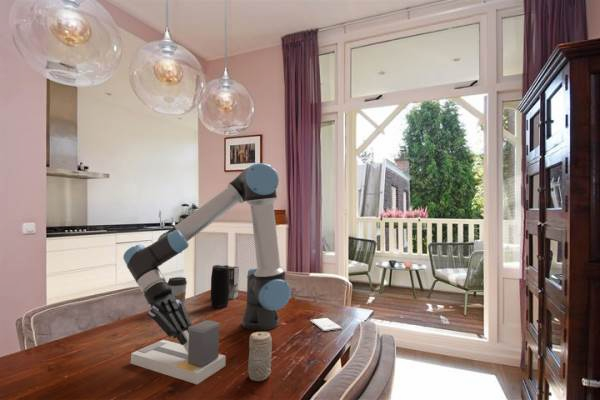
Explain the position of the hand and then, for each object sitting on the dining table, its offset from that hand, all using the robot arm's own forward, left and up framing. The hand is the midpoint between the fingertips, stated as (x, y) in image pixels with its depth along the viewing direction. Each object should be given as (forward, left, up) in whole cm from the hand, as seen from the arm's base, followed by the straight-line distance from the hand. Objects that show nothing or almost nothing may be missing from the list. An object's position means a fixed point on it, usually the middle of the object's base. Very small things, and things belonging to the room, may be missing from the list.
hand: (193, 351), depth 96 cm
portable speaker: (-25, -59, -5) cm, 64 cm away
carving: (-16, +13, -5) cm, 21 cm away
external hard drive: (-56, -13, -6) cm, 58 cm away
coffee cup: (-5, -59, -5) cm, 59 cm away
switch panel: (+3, -5, -5) cm, 8 cm away
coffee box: (-34, -74, -5) cm, 81 cm away
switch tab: (-2, +3, -2) cm, 4 cm away
